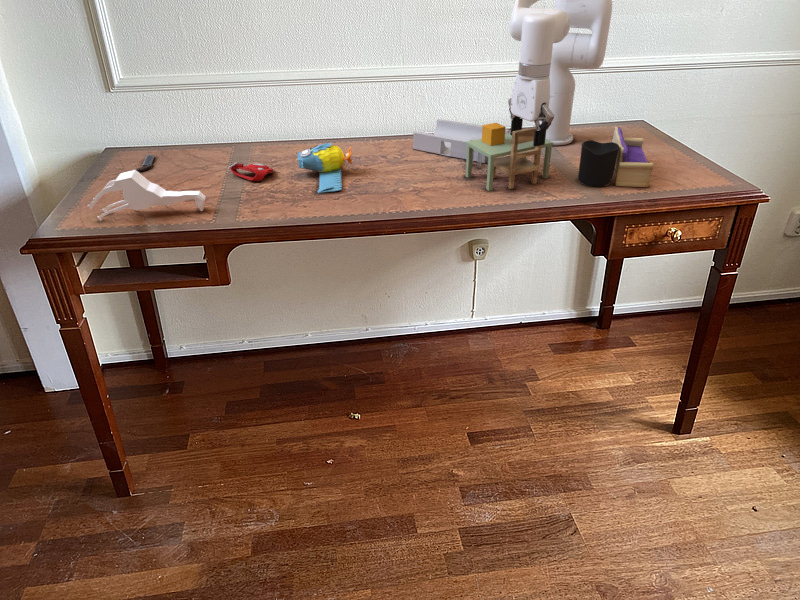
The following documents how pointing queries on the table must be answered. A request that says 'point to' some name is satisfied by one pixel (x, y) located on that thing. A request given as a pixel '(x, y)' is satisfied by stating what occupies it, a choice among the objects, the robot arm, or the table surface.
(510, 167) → the chair
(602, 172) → the pen holder
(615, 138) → the toy sofa
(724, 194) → the table surface
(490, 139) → the block
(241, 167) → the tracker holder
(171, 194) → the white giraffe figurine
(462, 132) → the grey storage tray
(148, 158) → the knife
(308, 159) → the blue yellow toy fish
